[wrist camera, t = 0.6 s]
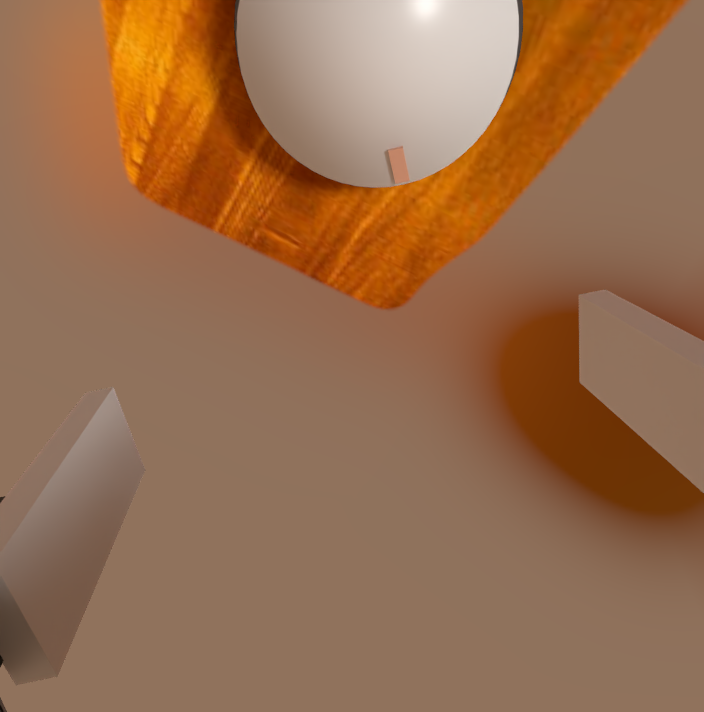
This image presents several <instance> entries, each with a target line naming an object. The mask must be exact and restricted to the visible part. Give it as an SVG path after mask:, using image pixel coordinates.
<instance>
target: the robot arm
mask: <svg viewBox="0 0 704 712" xmlns="http://www.w3.org/2000/svg"><path fill="white" fill-rule="evenodd" d="M579 359H580V361H579V363H580V364H579V365H580V366H579V367H580V383H581V384H582V385H583V386H585V387H586V388H587V389H588V390H589V391H590V392H591V393H592V394H593V395H595V396H596V397H597V398H598V399H599V400H600V401H601V402H603V403H604V404H605V405H606V406H607V407H608V408H609V409H610V410H611V411H612V412H614V413H615V414H616V415H617V416H618V417H619V418H620V419H621V420H623V421H624V422H625V423H626V424H627V425H628V426H629V427H630V428H632V429H633V430H634V431H635V432H636V433H637V434H638V435H639V436H641V437H642V438H643V439H644V440H645V441H646V442H647V443H648V444H649V445H651V446H652V447H653V448H654V449H655V450H656V451H657V452H658V453H659V454H661V455H662V456H663V457H664V458H665V459H667V461H669V462H670V463H671V464H672V465H673V466H674V467H675V468H676V469H677V470H678V471H680V472H681V473H682V474H683V475H684V476H685V477H686V478H687V479H689V480H690V481H691V482H692V483H693V484H694V485H696V487H697V488H699V489H700V490H701V491H702V492H703V493H704V341H702V340H700V339H698V338H697V337H695V336H693V335H691V334H689V333H687V332H685V331H683V330H681V329H679V328H677V327H676V326H673V325H672V324H670V323H668V322H666V321H664V320H662V319H660V318H658V317H657V316H655V315H653V314H651V313H649V312H647V311H645V310H643V309H641V308H639V307H637V306H635V305H634V304H632V303H630V302H628V301H626V300H624V299H622V298H620V297H619V296H617V295H615V294H613V293H611V292H609V291H607V290H601V291H596V292H591V293H586V294H581V295H579ZM144 471H145V468H144V466H143V463H142V461H141V458H140V455H139V453H138V450H137V447H136V445H135V442H134V440H133V437H132V435H131V432H130V429H129V427H128V424H127V421H126V419H125V416H124V414H123V411H122V408H121V406H120V403H119V401H118V398H117V395H116V393H115V390H114V388H113V387H111V388H106V389H101V390H96V391H91V392H86V393H85V394H84V395H83V397H82V398H81V399H80V400H79V402H78V403H77V404H76V406H75V407H74V408H73V409H72V411H71V412H70V413H69V415H68V416H67V417H66V419H65V420H64V421H63V423H62V424H61V425H60V426H59V428H58V429H57V430H56V432H55V433H54V434H53V435H52V437H51V438H50V439H49V441H48V442H47V443H46V445H45V446H44V447H43V449H42V450H41V451H40V452H39V454H38V455H37V456H36V458H35V459H34V460H33V461H32V463H31V464H30V465H29V467H28V468H27V469H26V471H25V472H24V473H23V475H22V476H21V477H20V479H19V480H18V481H17V482H16V484H15V485H14V486H13V488H12V489H11V490H10V491H9V493H8V494H7V495H6V496H5V497H0V667H1V665H2V663H3V665H4V666H5V668H6V669H7V671H8V673H9V674H10V676H11V678H12V679H13V681H14V683H15V684H16V685H18V684H23V683H28V682H33V681H38V680H43V679H47V678H52V677H57V676H58V674H59V672H60V669H61V667H62V665H63V662H64V660H65V658H66V655H67V653H68V651H69V648H70V646H71V644H72V641H73V639H74V637H75V634H76V632H77V629H78V627H79V624H80V622H81V620H82V617H83V615H84V613H85V611H86V608H87V606H88V603H89V601H90V599H91V596H92V594H93V592H94V589H95V587H96V585H97V582H98V580H99V578H100V575H101V573H102V571H103V568H104V566H105V563H106V561H107V559H108V556H109V554H110V551H111V549H112V547H113V545H114V542H115V540H116V537H117V535H118V532H119V530H120V528H121V525H122V523H123V521H124V518H125V516H126V514H127V511H128V509H129V507H130V505H131V502H132V500H133V497H134V495H135V493H136V490H137V488H138V486H139V483H140V481H141V478H142V476H143V474H144ZM0 712H7V711H6V709H5V707H4V705H3V703H2V700H1V698H0Z"/></svg>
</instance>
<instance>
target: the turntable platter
mask: <svg viewBox="0 0 704 712" xmlns="http://www.w3.org/2000/svg"><path fill="white" fill-rule="evenodd" d="M236 35H237V50H238V58H239V63H240V69H241V74H242V77H243V80H244V84H245V87H246V90H247V93H248V95H249V98H250V100H251V102H252V104H253V107H254V109H255V111H256V113H257V114H258V116H259V118H260V119H261V121H262V123H263V125H264V126H265V127H266V129H267V130H268V131H269V133H270V134H271V135H272V137H273V138H274V139H275V140H276V141H277V142H278V143H279V144H280V146H281V147H282V148H283V149H284V150H285V151H286V152H287V153H289V154H290V155H291V156H292V157H293V158H295V159H296V160H297V161H298V162H300V163H301V164H303V165H304V166H306V167H307V168H309V169H310V170H312V171H314V172H316V173H318V174H320V175H322V176H324V177H326V178H329V179H332V180H335V181H337V182H340V183H344V184H349V185H354V186H361V187H372V188H373V187H391V186H397V185H403V184H407V183H410V182H414V181H417V180H420V179H422V178H425V177H427V176H429V175H432V174H434V173H436V172H437V171H439V170H441V169H443V168H444V167H446V166H448V165H449V164H451V163H452V162H453V161H455V160H456V159H457V158H459V157H460V156H461V155H462V154H463V153H465V152H466V151H467V150H468V149H469V148H470V147H471V146H472V145H473V144H474V143H475V142H476V141H477V139H478V138H479V137H480V136H481V135H482V133H483V132H484V131H485V130H486V128H487V127H488V125H489V124H490V122H491V121H492V119H493V118H494V116H495V115H496V113H497V111H498V109H499V107H500V105H501V103H502V101H503V99H504V97H505V95H506V92H507V89H508V86H509V84H510V81H511V78H512V74H513V70H514V66H515V62H516V57H517V48H518V40H519V14H518V6H517V0H240V1H239V7H238V13H237V32H236Z"/></svg>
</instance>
